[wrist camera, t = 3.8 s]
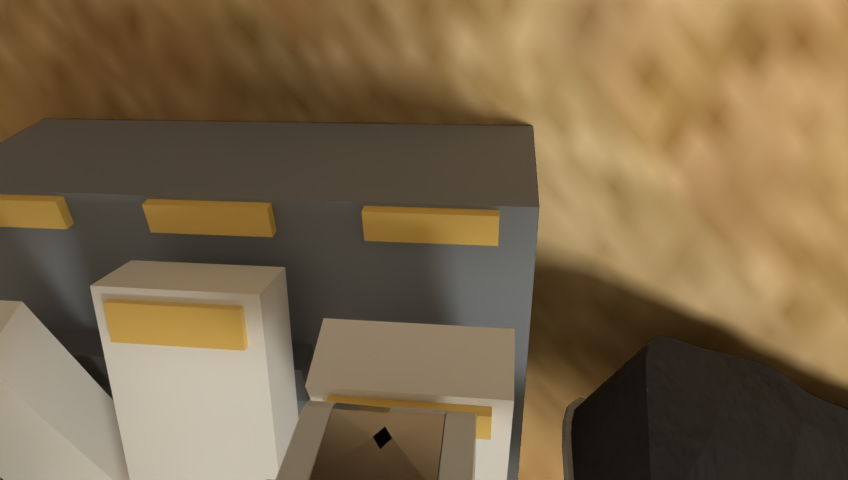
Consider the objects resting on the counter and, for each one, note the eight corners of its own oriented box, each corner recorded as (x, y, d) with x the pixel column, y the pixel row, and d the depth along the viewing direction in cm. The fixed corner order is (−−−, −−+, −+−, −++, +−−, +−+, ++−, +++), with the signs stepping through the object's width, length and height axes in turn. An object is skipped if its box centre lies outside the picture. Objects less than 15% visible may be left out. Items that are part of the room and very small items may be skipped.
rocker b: (308, 526, 17) (286, 580, 15) (176, 513, 18) (142, 564, 16) (284, 267, 14) (255, 298, 13) (131, 259, 15) (84, 289, 13)
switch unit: (516, 379, 23) (517, 521, 18) (135, 354, 25) (42, 476, 20) (533, 125, 18) (541, 230, 13) (43, 118, 20) (-116, 206, 15)
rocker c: (159, 451, 19) (135, 508, 18) (46, 441, 20) (15, 496, 19) (22, 301, 14) (-28, 371, 12) (-134, 293, 14) (-196, 359, 13)
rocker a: (502, 480, 18) (501, 544, 17) (371, 469, 18) (361, 531, 17) (514, 328, 12) (513, 410, 11) (323, 318, 13) (302, 395, 11)
